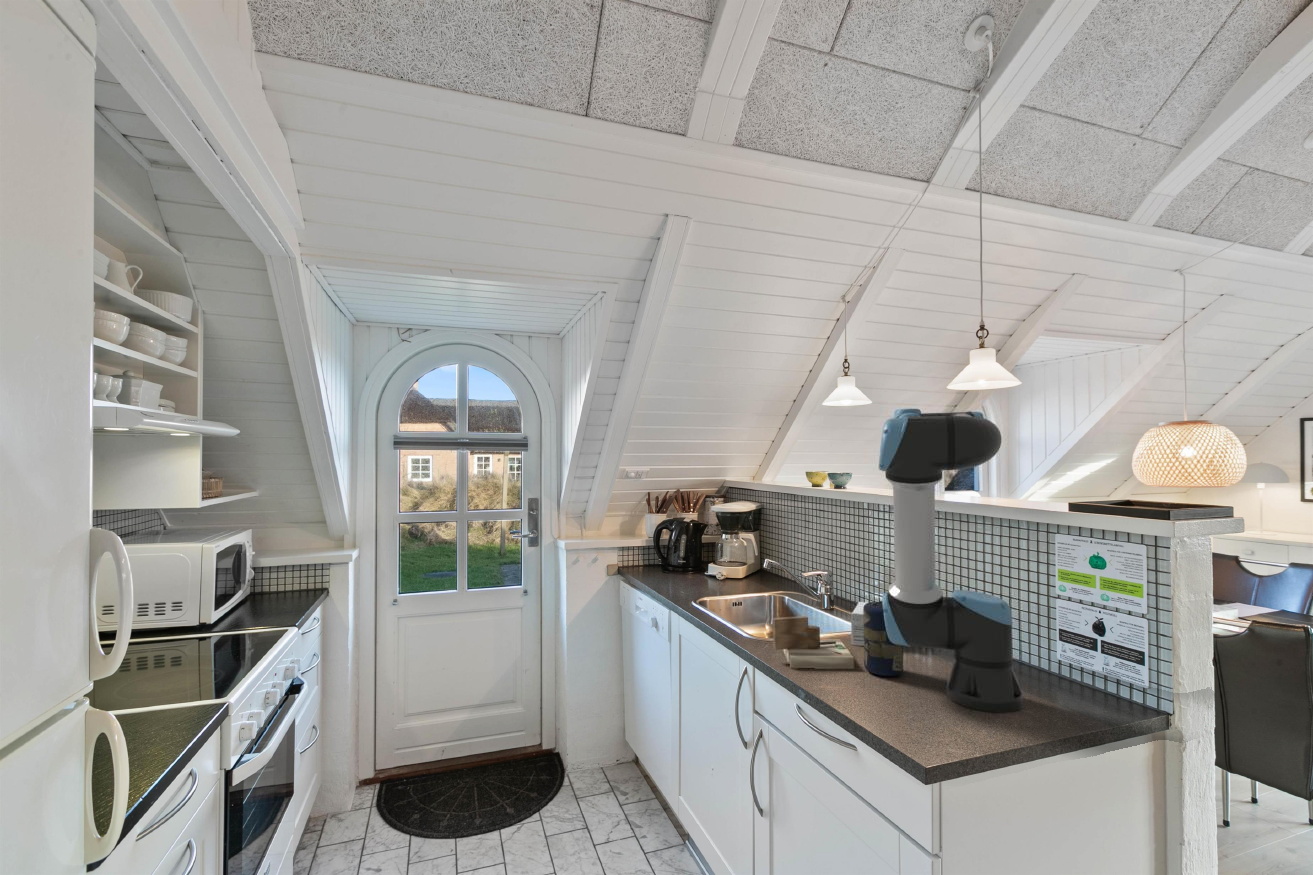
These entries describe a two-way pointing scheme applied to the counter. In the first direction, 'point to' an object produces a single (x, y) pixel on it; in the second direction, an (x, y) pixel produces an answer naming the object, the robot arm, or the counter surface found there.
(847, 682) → the counter surface
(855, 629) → the supplement box
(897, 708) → the counter surface
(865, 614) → the canister
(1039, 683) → the counter surface
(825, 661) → the dial board
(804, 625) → the brown stepped wooden block
